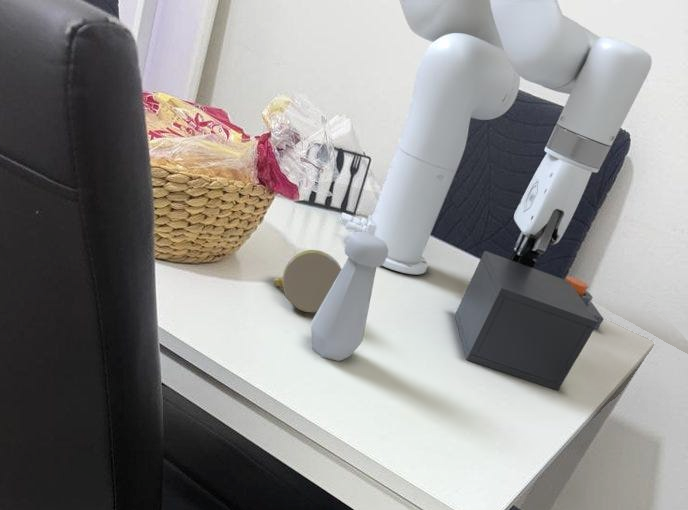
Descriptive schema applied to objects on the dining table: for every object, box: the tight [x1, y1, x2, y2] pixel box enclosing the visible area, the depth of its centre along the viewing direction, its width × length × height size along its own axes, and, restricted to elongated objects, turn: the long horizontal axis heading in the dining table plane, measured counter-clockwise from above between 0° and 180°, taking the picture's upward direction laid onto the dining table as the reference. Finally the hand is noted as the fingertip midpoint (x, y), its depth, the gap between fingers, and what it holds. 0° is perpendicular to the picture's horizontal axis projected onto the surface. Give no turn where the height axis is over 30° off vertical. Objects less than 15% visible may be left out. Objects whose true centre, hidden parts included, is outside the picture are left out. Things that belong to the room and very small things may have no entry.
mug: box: [273, 249, 342, 314], centre depth 85 cm, size 8×10×10 cm
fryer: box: [454, 250, 598, 391], centre depth 93 cm, size 15×13×10 cm
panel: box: [578, 290, 604, 331], centre depth 121 cm, size 11×9×4 cm
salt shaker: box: [310, 232, 388, 362], centre depth 74 cm, size 6×6×13 cm
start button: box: [564, 275, 589, 296], centre depth 120 cm, size 4×4×2 cm
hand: (511, 281), depth 102 cm, fingers closed
